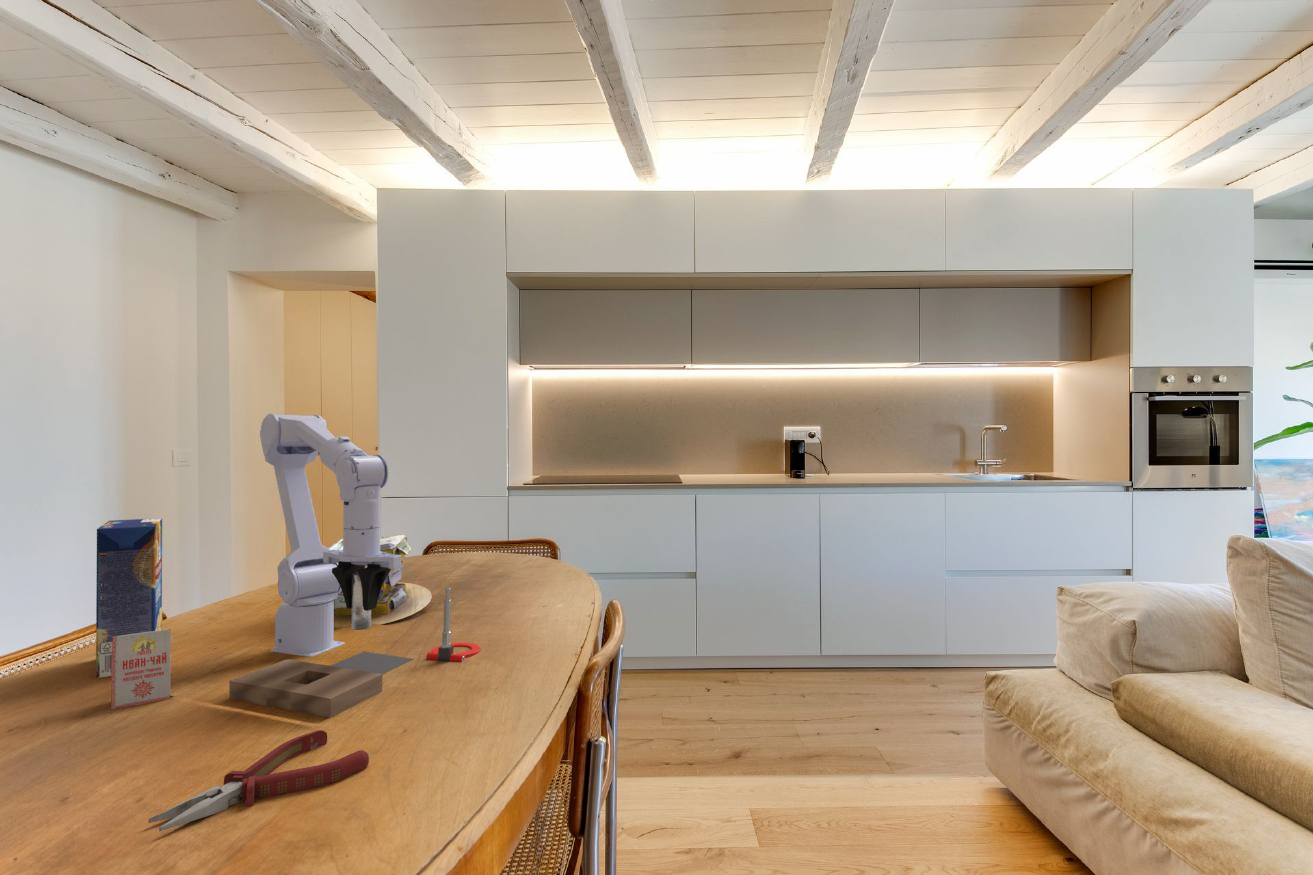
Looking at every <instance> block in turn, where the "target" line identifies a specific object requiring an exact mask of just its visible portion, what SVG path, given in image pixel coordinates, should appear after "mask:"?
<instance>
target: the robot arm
mask: <svg viewBox="0 0 1313 875" xmlns="http://www.w3.org/2000/svg"><path fill="white" fill-rule="evenodd" d="M259 439H260V443H261V447H262V452H263V455H264V461H265V462H267V463H268V464H270V465H272V466H273V470H274V474H275V478H276V484H277V485H276V486H277V488H278V489H277V490H278V493H279V498H280V503H281V508H282V513H283V517H284V521H285V527H286V532H287V537H288V542H289V547H290V552H289V553H288V554H287V555H285V557H284V558H283V559H282V560H281V561H280V562H279V564H278V566H277V576H278V577H277V590H278V594H279V597H280V598H281V600H282V601H283V602H282V603H281V604H280V605H279V606H278V608H277V611H276V612H275V613H276V614H275V620H274V621H275V622H274V625H275V626H274V631H275V632H274V636H275V637H274V648H271V649H270V652H271V653H280V654H286V655H287V654H288V655H295V656H300V657H307V658H312V657H314V656H315V657H316V656H317V655H320V654H323V653H325V652H327V651H331V650H333V649H336V648H338V647H340V646H343V645H345V642H344V641H339V640H334V639H335V638H334V634H335V633H334V631H335V630H334V628H335V627H334V599H337V598H338V594H339V593H340V592H341V591H342V592H343V596H344V599H345V603H346V607H347V609H351V608H352V574H353V573H357V572H358V575H359V577H360V581H361V585H362V591H363V607H364V610H365V611H369V610H371V609H374V608H376V605H377V602H378V598H379V594H380V591H381V588H382V586H383V583H384V581H385V579H386V577H387V576H388V574H389V572H390V571H391V569H395V568H398V567H401V555H394V554H390V553H385V552H381V551H380V539H381V516H382V515H381V509H382V508H381V505H382V504H381V500H382V498H381V497H382V496H381V493H382V492H381V491H382V490H381V489H382V488H384V487H385V486H386V484H387V483H388V479H389V466H388V463H387V460H386V459H385V458H384V457H383V456H382V455H381V454H372V455H369V454H367V453H366V452H365V451H364V450H363V449H362V448H360V447H358V446H357V445H356V444H354V443H353V442H352V441H351V438H350V437H349V436H345V435H342V436H336V437H335V435H334V434H332V433H331V431H329V430H328V428H327V421H326V419H325V418H323V417H322V416H321V415H319V414H314V415H301V414H275V413H268V414H267V415H266V416H265V417H263V419H262V421H261V425H260V431H259ZM318 454H319V459H320V461H321V463H322V464H323V465H324V466H325V467H327V468H328V469H329V470H330V471H331V472H332V473H334V474H335V476H336V483H337V486H338V489H339V497H340V501H343V502H342V503H343V505H342V506H343V510H342V511H343V512H342V514H343V515H342V516H343V518H342V521H343V522H342V525H343V527H342V529H343V530H342V533H343V535H342V537H343V538H342V539H343V550H330V549H329V548H327V546H325V545H323V544H322V541H321V537H320V533H319V532H320V531H319V526H318V524H317V519H316V514H315V508H314V504H313V500H312V496H311V491H310V488H309V487H310V486H309V482H308V478H307V473H306V470H305V468H306V465H308V464H310V463H312V462H315V460H316V459H317V457H318ZM365 565H366V566H367V568H365Z"/></svg>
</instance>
